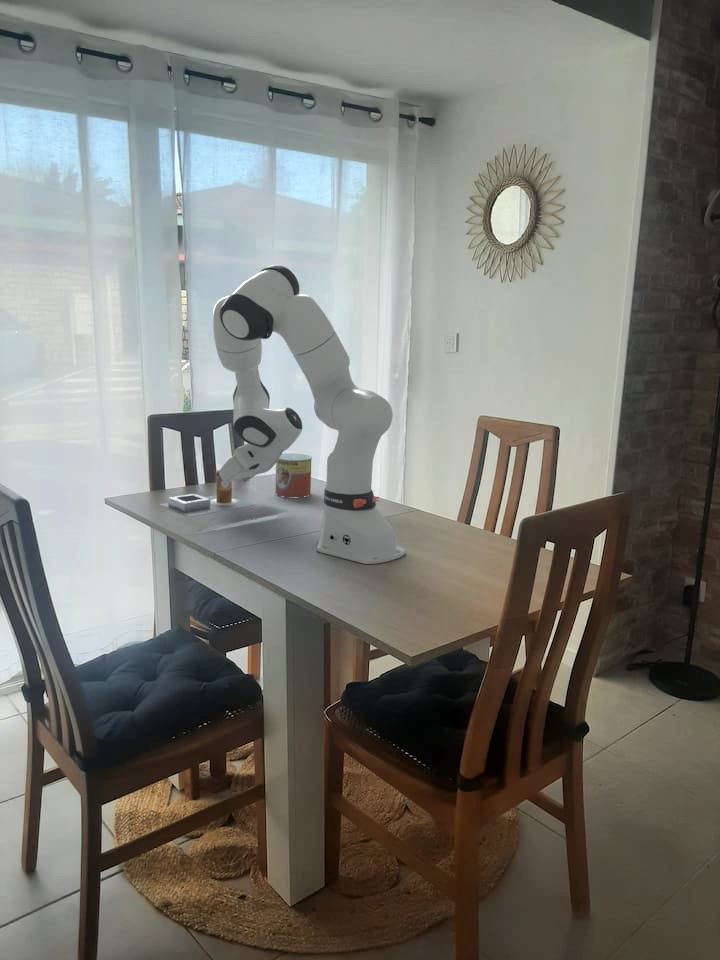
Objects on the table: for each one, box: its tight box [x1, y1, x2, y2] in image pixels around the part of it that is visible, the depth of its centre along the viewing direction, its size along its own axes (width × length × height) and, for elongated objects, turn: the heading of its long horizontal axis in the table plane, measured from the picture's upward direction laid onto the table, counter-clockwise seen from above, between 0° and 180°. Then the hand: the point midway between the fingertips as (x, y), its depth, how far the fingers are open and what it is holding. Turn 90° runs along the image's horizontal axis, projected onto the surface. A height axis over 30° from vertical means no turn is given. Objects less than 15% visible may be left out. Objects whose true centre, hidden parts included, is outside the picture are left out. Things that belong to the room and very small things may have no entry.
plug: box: [215, 469, 233, 503], centre depth 211 cm, size 4×4×9 cm
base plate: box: [159, 494, 256, 518], centre depth 208 cm, size 16×22×1 cm
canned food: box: [274, 453, 313, 498], centre depth 229 cm, size 11×11×12 cm
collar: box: [167, 493, 210, 512], centre depth 204 cm, size 8×8×2 cm
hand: (234, 482), depth 209 cm, fingers open, 8 cm apart
